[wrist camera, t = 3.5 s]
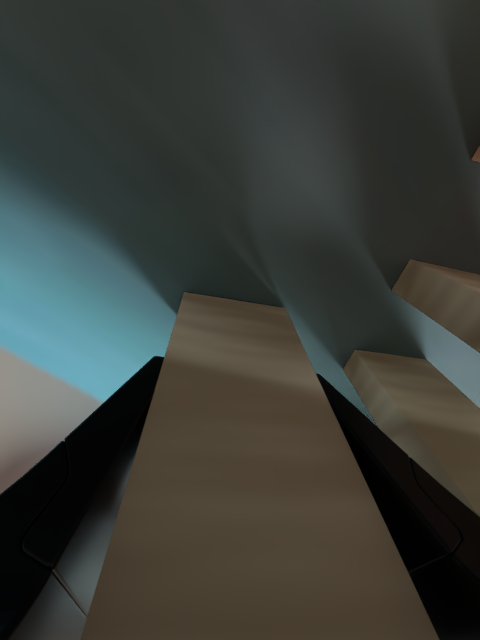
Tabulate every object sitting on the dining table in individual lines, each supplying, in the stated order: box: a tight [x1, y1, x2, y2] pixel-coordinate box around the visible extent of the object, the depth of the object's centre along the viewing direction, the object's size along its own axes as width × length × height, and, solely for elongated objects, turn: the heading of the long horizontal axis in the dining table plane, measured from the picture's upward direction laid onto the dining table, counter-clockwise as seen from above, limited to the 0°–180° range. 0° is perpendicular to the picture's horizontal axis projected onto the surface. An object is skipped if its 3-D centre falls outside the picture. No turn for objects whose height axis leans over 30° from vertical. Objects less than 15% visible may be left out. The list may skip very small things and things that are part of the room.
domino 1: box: [80, 292, 439, 640], centre depth 7 cm, size 2×5×10 cm, turn 78°
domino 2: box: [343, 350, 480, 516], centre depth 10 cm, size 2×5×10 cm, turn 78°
